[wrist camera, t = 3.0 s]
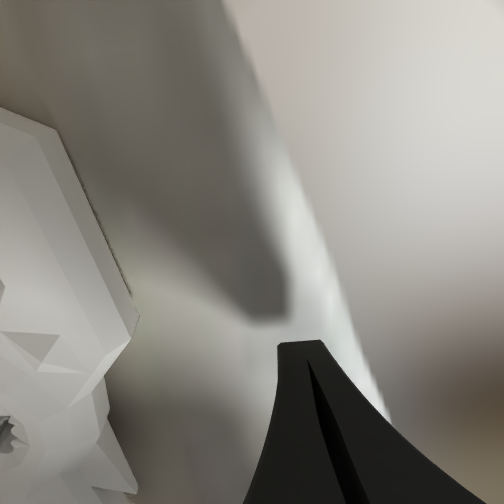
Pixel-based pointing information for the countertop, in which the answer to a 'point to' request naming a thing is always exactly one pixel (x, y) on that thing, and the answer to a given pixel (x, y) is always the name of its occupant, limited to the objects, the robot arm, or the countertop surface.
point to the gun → (56, 329)
